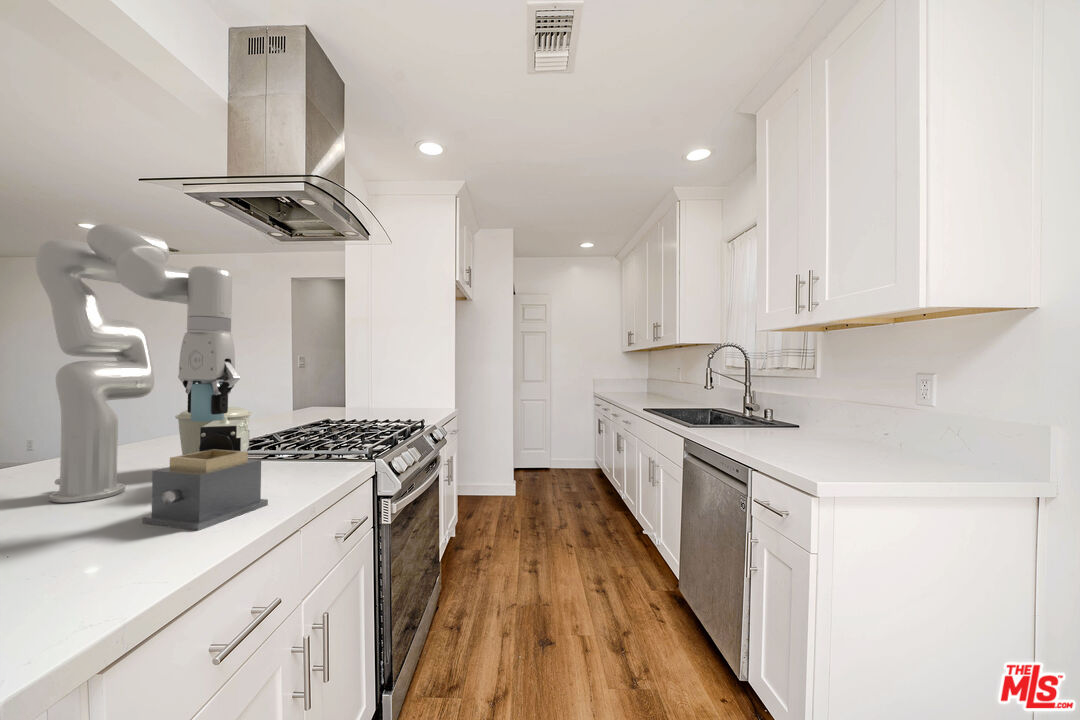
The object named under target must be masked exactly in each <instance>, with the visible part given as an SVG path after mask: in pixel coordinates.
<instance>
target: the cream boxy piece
mask: <svg viewBox="0 0 1080 720" xmlns="http://www.w3.org/2000/svg"><path fill="white" fill-rule="evenodd" d="M246 427H249V422H248V423H246V420H245V419H240V420H227V416H224V419H223V420H216V421H212V422H210V423H208V424H207V425H205V426H203V427H201V430H200V446H199V451H200V452H201V451H206V450H212V449H218V450H231V451H244V452H247V450H248V449H249V448H250V430H249V429H248V430H245V428H246Z"/></svg>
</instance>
